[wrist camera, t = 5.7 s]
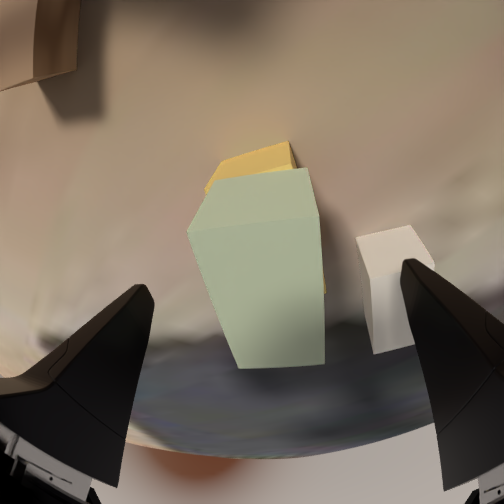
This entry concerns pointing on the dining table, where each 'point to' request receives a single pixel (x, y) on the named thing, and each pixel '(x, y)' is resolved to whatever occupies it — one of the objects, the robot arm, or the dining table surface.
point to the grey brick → (387, 284)
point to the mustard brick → (257, 166)
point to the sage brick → (264, 267)
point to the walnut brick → (37, 40)
